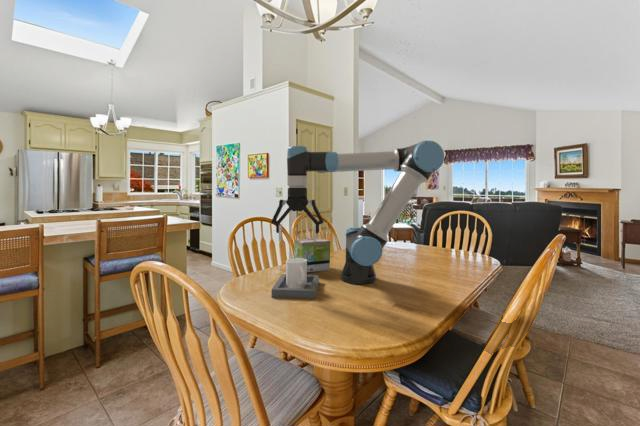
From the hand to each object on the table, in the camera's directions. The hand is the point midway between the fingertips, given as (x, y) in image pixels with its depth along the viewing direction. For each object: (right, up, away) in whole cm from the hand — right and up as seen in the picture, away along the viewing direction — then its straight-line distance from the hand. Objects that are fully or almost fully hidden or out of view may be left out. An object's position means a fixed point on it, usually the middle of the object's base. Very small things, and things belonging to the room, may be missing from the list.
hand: (297, 241), depth 128 cm
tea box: (+5, -17, +31) cm, 36 cm away
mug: (0, -18, +1) cm, 18 cm away
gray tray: (0, -19, +2) cm, 19 cm away
